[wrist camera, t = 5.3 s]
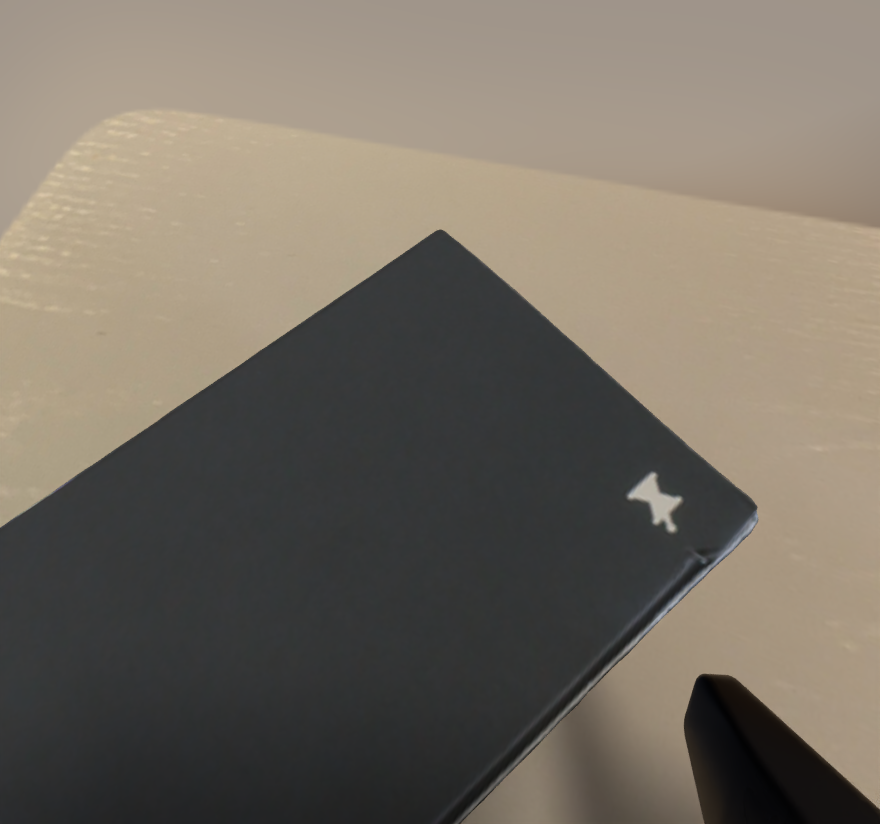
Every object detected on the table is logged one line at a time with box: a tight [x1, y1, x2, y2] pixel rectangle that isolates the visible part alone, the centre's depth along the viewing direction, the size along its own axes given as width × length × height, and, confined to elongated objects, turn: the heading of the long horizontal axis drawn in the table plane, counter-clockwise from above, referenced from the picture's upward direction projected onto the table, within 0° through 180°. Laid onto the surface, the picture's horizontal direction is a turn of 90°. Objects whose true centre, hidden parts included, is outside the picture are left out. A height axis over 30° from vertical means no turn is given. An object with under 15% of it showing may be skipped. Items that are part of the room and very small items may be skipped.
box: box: [0, 230, 758, 824], centre depth 11 cm, size 8×6×11 cm
